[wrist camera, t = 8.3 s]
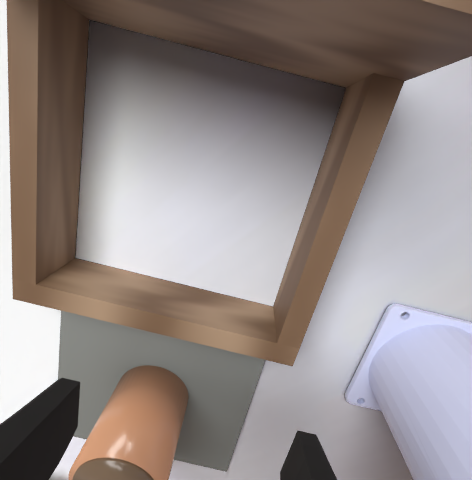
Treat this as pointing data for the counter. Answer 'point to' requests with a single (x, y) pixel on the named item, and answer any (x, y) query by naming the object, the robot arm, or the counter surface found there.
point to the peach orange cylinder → (135, 429)
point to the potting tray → (232, 45)
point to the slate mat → (170, 358)
